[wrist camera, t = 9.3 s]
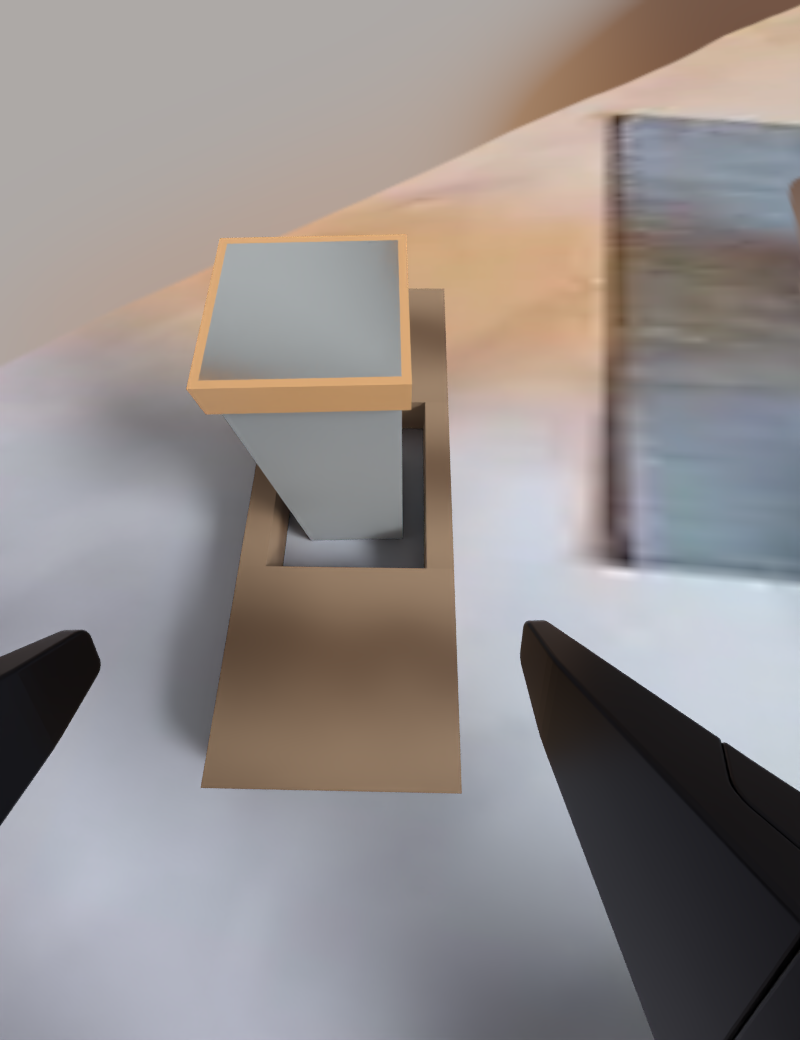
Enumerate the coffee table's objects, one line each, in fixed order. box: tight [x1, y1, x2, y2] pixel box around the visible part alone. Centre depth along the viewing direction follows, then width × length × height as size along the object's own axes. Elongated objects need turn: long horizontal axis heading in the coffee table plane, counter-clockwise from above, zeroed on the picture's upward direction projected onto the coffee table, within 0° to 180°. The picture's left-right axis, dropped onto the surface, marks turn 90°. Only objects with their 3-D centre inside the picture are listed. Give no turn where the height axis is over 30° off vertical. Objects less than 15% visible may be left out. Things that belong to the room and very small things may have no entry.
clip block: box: [186, 234, 412, 540], centre depth 13 cm, size 4×4×10 cm
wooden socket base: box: [201, 289, 462, 793], centre depth 17 cm, size 22×8×2 cm, turn 179°
